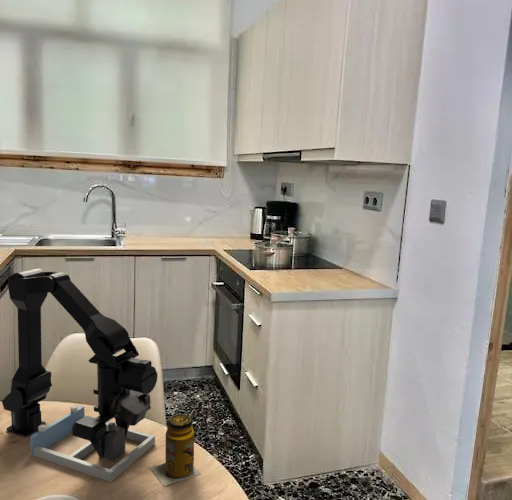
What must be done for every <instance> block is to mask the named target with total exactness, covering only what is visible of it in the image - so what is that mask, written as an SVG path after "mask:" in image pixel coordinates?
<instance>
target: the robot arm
mask: <svg viewBox="0 0 512 500" xmlns="http://www.w3.org/2000/svg"><path fill="white" fill-rule="evenodd" d="M7 287H8V288H7V289H8V294H9V299H10V301H12V303H13V305H14V306H15V307H16V309H17V336H18V337H17V339H18V340H17V341H18V342H17V343H18V344H17V345H18V347H17V348H18V367H17V369H16V371H15V373H14V375H13V376H12V379H11V385H10V391H9V393H8V394H7V395H6V396H5V397H4V398H3V399H2V400H1V404H2V408H3V409H4V410H5V411H9V412H10V415H11V416H10V417H11V425H10V426H8V427H6V431H7V432H9V433H10V432H11V433H14V434H16V435H19V436H23V437H27V436H29V435H32V434H33V433H35V432H36V431H37V430H38V426H40V425H46V424H47V422H46V421H42V411H41V404H40V402H42V401H44V400H46V398H47V395H48V393H49V392H50V390H51V387H53V384H52V372H51V371H49V370H47V369H46V368H45V367H44V365H43V363H42V361H43V360H42V307H43V304H44V302H45V301H46V299H47V297H48V293H50V294H51V295H52V296H53V298H54V299H55V300H56V301H57V302H58V303H59V304H60V305H61V307H62V308H63V309H64V310H65V311H66V312H67V313H68V314H69V315H70V316H71V318H72V319H73V320H74V321H75V322H76V323H77V325H78V326H80V328H81V329H82V330H83V332H84V336H85V340H86V343H87V344H88V346H89V348H90V349H91V351H92V352H93V353H94V355H93V356H91V357H90V358H89V359H88V362H89V363H90V364H94V365H96V370H97V371H96V373H97V374H96V375H97V376H96V377H97V379H96V380H97V387H95V388H93V390H92V392H93V394H94V395H97V404H96V405H94V406H93V412H95V413H98V416H96V417H93V416H91V415H85V417H83V418H82V419H80V420H79V421H77V422H75V423H74V424H73V425H72V432H71V433H72V437H76V438H79V439H81V440H82V439H83V440H86V441H88V442H89V441H90V442H91V444H92V445H93V447H94V450H95V452H96V453H97V455H98V457H99V458H100V457H102V458H101V459H103V457H104V453H105V437H106V436H107V435H108V434H109V433H110V432H109V431H106V430H107V428H106V423H107V422H108V423H110V422H111V421H112V420H113V419H114V421H115V422H114V423H115V424H116V426H118V427H122V428H125V439H127V438H126V435H127V432H128V429H130V426H137V424H138V423H140V422H141V421H143V420H144V419H145V417H146V415H147V412H148V411H149V410H151V409H152V407H151V395H150V393H151V392H152V391H153V390H154V389H155V388H156V385H157V382H158V372H157V369H156V368H155V367H154V366H152V361H151V360H148V359H140V358H137V357H138V356H139V355H140V354H139V351H138V349H137V348H136V346H135V345H134V343H133V341H132V340H131V338H130V336H129V333H128V331H127V329H126V328H125V327H124V326H122V325H121V324H120V323H119V322H117V320H115V319H114V318H110V317H108V316H105V314H102V313H101V312H100V311H99V310H98V309H97V307H96V306H95V305H94V304H93V303H92V302H91V301H90V299H88V298H87V297H86V295H84V293H83V292H82V291H81V290H80V289H79V288H78V287H77V286H76V285H75V283H74V282H72V280H71V277H70V276H69V274H68V273H67V272H63V271H61V272H56V271H44V270H43V269H41V268H38V267H35V268H32V269H26V270H22V271H18V272H15V273H13V274H11V275H10V276H9V277H8V281H7ZM121 351H124V352H123V353H121V354H118V353H120V352H121ZM115 354H118V355H115ZM46 426H47V425H46Z"/></svg>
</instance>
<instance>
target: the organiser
mask: <svg viewBox="0 0 512 500" xmlns="http://www.w3.org/2000/svg"><path fill="white" fill-rule="evenodd" d="M85 416H86V415H85V406H83V405H80V406H76V405H73V406H70V412H68V413H67V414H65V415H64V416H62V417H60V418H58V419H57V420H54V422H52V423H50V424H48V425H40V426H38V431H37V432H36V431H35V432H34V434H33V433H32V434H30V436H29V438H30V439H29V440H30V441H29V443H30V445H29V447H30V455H31V456H32V457H33V456H34V457H37V458H39V459H41V460H45V461H48V462H50V463H53V464H57V465H60V466H62V467H64V468H68V469H71V470H74V471H76V472H80V473H82V474H86V475H89V476H91V477H95V478H99V479H101V480H103V481H107V482H109V483H111V482H112V481H113V480H115V479H116V478H117V477H118V476H119V475H120V474H122V473H123V472H124V471H125V470H126V469H128V468H129V467H130V466H131V465H133V463H134V462H135V461H137V460H138V459H139V458H140V457H142V456H143V455H144V454H145V453H146V452H148V451H149V450H150V449H151V448H152V447H154V446H155V445H156V435H153V434H150V433H147V432H143V431H140V430H139V431H138V430H135V429H133V428H129V429H128V432H127V435H126V438H125V439H128V440H131V441H135V442H139V443H140V444H139V445H137V446H136V447H135V448H134V449H133V450H131V451H130V452H129V453H128V454H126V455H125V456H124V457H123V458H122V459H121V460H120V459H119V461H118V462H117V463H115V464H114V465H113V466H112V467H110V468H107V467H104V466H101V465H97V464H95V463H92V462H89V461H85V460H82V459H83V458H85V457H86V456H87V455H89V454H90V453H91V452H93V451H94V450H95V449H94V447H93V445H92V444H91V442H90V441H89V440H88V442H86V443H85V444H83V445H82V446H81V447H79V448H78V449H76V450H74V452H72V453H71V454H69V455H67V454H64V453H61V452H58V451H56V450H52V449H50V448H49V447H51V446H52V445H54V444H55V443H57V442H58V441H59V440H61V439H63V438H64V437H65V436H67V435H69V434H71V433H72V425H73V424H74V423H75V422H77V421H79V420H80V419H82V418H83V417H85ZM109 423H110V422H107V423H106V427H107V426H108V424H109Z"/></svg>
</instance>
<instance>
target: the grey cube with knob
mask: <svg viewBox="0 0 512 500" xmlns="http://www.w3.org/2000/svg"><path fill="white" fill-rule="evenodd" d="M108 423H109V424H108V426H107V427H106V428H107V430H106V431H109V432H110V433H109V434H108V435H107V436H106V437H105V453H104V457H103V458H102V457H99V458H101V459H103V460H107V461H110V462H115V461H117V460H118V459H119V458H120V457H122V456H123V455H124V454H125V453H126V438H125V428H122V427H118V426H116V422H113V421H112V422H111V421H110V422H108Z"/></svg>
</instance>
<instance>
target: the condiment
mask: <svg viewBox="0 0 512 500" xmlns="http://www.w3.org/2000/svg"><path fill="white" fill-rule="evenodd" d="M193 428H194V427H193V418H192V417H191V416H190V415H188V414H184V413H178V414H173V415H171V416H170V417H169V418H168V420H167V427H166V432H165V462H164V463H161V464H159V465H158V464H157V465H154V466H151V467H150V469H151V470H152V472H153V473H154V475H155V476H156V478H157V480H158V481H159V482H160V483H161V485H162V486H163V487H167V486H169V485H172V484H175V483H177V482H181V481H185V480H188V479H191V478H193V477H196V476H199V475H200V474H201V472H200V471H199V470H198V469H197V468H196V466H194V461H195V460H194V459H195V430H194V429H193Z"/></svg>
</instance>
